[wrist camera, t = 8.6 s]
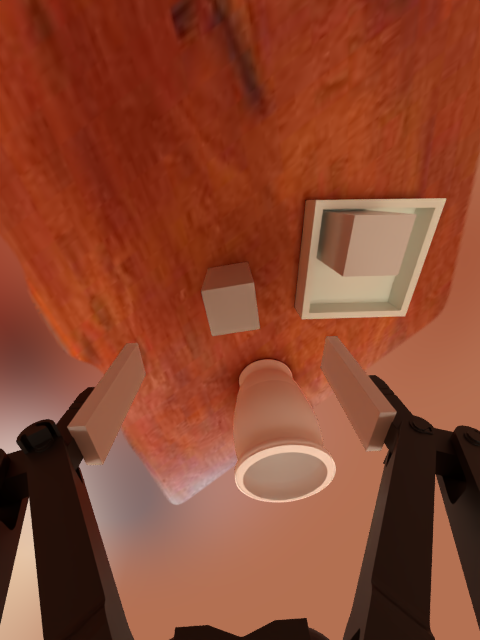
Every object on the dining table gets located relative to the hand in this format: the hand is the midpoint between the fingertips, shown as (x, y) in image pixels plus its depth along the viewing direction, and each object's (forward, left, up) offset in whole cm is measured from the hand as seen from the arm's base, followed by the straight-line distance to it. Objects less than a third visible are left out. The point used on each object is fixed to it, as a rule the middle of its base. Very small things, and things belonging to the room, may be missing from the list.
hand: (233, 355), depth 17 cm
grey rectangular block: (0, 0, -15) cm, 15 cm away
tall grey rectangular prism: (-6, +12, -14) cm, 20 cm away
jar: (+16, +5, -15) cm, 23 cm away
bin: (-3, +15, -15) cm, 22 cm away
